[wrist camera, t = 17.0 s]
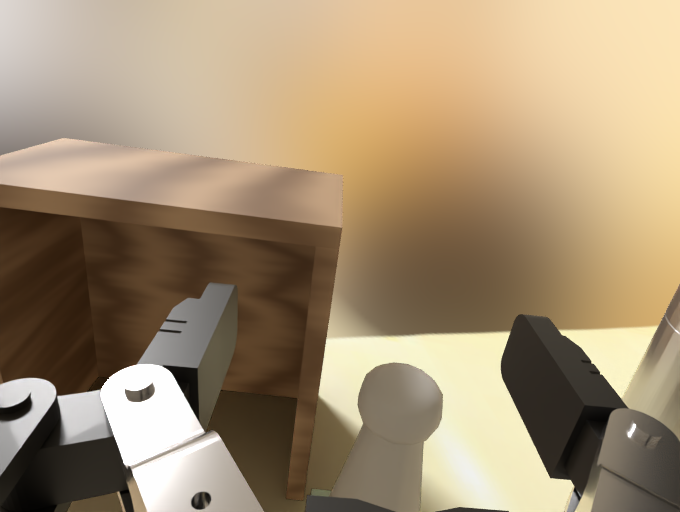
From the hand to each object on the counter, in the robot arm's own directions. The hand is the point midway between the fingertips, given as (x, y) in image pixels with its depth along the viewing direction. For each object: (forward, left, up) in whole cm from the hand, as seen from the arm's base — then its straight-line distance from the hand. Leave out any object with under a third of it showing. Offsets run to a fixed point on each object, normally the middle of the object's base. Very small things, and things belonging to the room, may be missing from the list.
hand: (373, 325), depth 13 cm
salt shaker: (-3, -7, -21) cm, 22 cm away
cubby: (+11, -16, -21) cm, 28 cm away
